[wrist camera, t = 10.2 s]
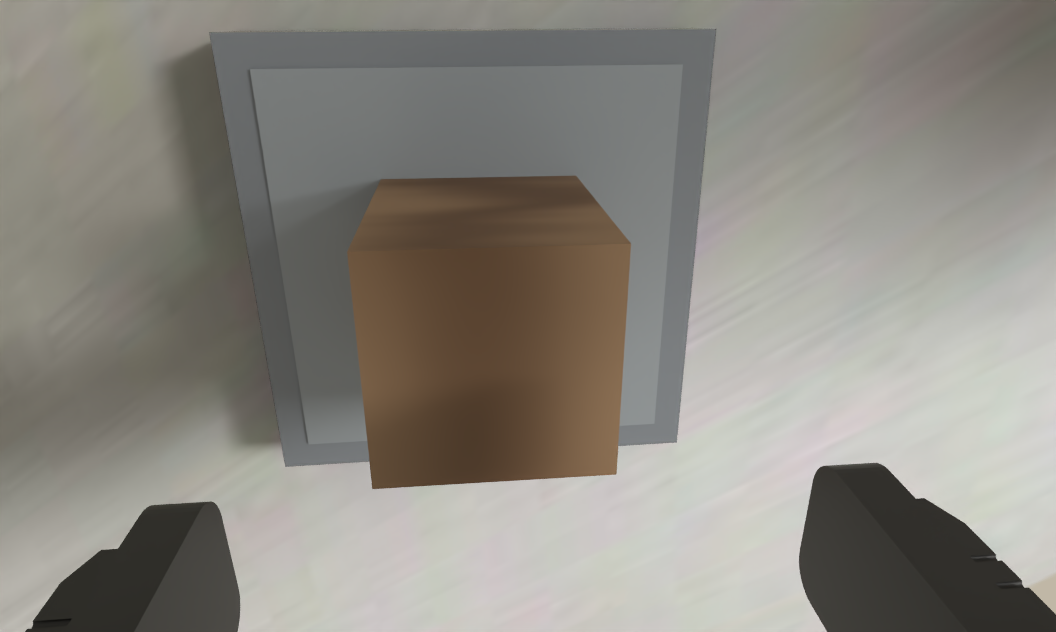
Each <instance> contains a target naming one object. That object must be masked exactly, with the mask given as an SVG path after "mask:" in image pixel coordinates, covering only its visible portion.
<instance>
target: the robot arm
mask: <svg viewBox="0 0 1056 632" xmlns="http://www.w3.org/2000/svg"><path fill="white" fill-rule="evenodd" d="M799 567H800V574H801V579H802V583H803V587H804V590H805V593H806V595H807V597H808V599H809V601H810V603H811V605H812V607H813V608H814V610H815V612H816V613H817V615H818V617H819V618H820V620H821V622H822V624H823V625H824V627H825V629H826V630H827V632H1056V615H1055V613H1054V612H1053V611H1052V610H1051V609H1050V608H1049V607H1048V606H1047V605H1046V604H1045V603H1044V602H1043V601H1042V600H1041V599H1040V598H1039V597H1038V596H1037V595H1036V594H1035V593H1034V592H1033V591H1032V590H1031V589H1030V588H1024V587H1023V585H1022V580H1021V579H1020V578H1019V577H1018V576H1017V575H1016V574H1015V573H1014V572H1013V571H1012V570H1011V569H1010V568H1009V567H1008V566H1007V565H1006V564H1005V563H1004V562H1003V561H997V559H996V554H995V553H994V552H993V551H992V550H991V549H990V548H989V547H988V546H987V545H986V544H985V543H984V542H983V541H982V540H981V539H980V538H979V537H978V536H977V535H976V534H975V533H974V532H973V531H972V530H971V529H970V528H969V527H968V526H967V525H966V524H965V523H963V522H962V521H960V520H959V519H957V518H955V517H954V516H952V515H950V514H949V513H947V512H946V511H944V510H942V509H941V508H939V507H937V506H936V505H934V504H933V503H931V502H929V501H928V500H926V499H924V498H921V499H915V497H914V496H913V495H912V494H911V493H910V492H909V491H908V490H907V489H906V488H905V487H904V486H903V485H902V484H901V483H900V482H899V481H898V479H897V478H896V477H895V476H894V475H893V474H892V473H891V472H890V471H889V470H888V469H887V468H886V467H885V466H883V465H881V464H878V463H865V464H849V465H832V466H822V467H820V468H819V469H818V470H817V472H816V474H815V476H814V479H813V484H812V489H811V494H810V500H809V505H808V510H807V516H806V521H805V526H804V532H803V537H802V542H801V548H800V554H799ZM239 618H240V595H239V589H238V584H237V580H236V576H235V572H234V567H233V563H232V559H231V555H230V550H229V546H228V542H227V538H226V533H225V529H224V525H223V521H222V516H221V513H220V510H219V508H218V506H217V505H216V504H215V503H214V502H197V503H181V504H164V505H152V506H149V507H147V508H146V509H145V510H144V511H143V512H142V514H141V515H140V516H139V518H138V519H137V521H136V522H135V524H134V525H133V527H132V528H131V530H130V532H129V533H128V535H127V536H126V538H125V539H124V541H123V542H122V544H121V545H120V547H119V548H118V549H110V550H101V551H99V552H98V553H97V554H96V555H94V556H93V557H92V558H91V559H90V560H88V561H87V562H86V563H85V564H83V565H82V566H81V567H80V568H78V569H77V570H76V571H75V572H73V573H72V574H71V575H70V576H69V577H67V578H66V579H65V580H64V581H62V582H61V583H60V584H59V586H58V587H57V589H56V590H55V591H54V593H53V594H52V596H51V597H50V598H49V600H48V601H47V602H46V604H45V605H44V607H43V608H42V609H41V611H40V612H39V614H38V615H37V616H36V618H35V619H34V620H33V627H32V629H27V630H26V631H25V632H237V631H238V626H239Z"/></svg>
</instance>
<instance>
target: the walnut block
mask: <svg viewBox="0 0 1056 632" xmlns="http://www.w3.org/2000/svg"><path fill="white" fill-rule="evenodd" d="M630 254H631V243H630V242H629V240H628V239H627V238H626V237H625V236H624V234H623V233H622V232H621V231H620V229H619V228H618V227H617V226H616V224H615V223H614V222H613V221H612V219H611V218H610V217H609V216H608V214H607V213H606V212H605V211H604V209H603V208H602V207H601V206H600V204H599V203H598V202H597V201H596V200H595V198H594V197H593V196H592V195H591V193H590V192H589V191H588V190H587V188H586V187H585V186H584V185H583V183H582V182H581V181H580V180H579V178H578V177H577V176H525V177H471V178H418V179H381V180H380V182H379V184H378V187H377V189H376V191H375V193H374V195H373V197H372V199H371V202H370V204H369V206H368V208H367V210H366V212H365V214H364V217H363V219H362V221H361V223H360V225H359V227H358V229H357V232H356V234H355V236H354V238H353V240H352V242H351V244H350V247H349V249H348V251H347V256H348V265H349V274H350V284H351V293H352V302H353V312H354V321H355V330H356V340H357V349H358V358H359V368H360V377H361V386H362V396H363V405H364V414H365V424H366V433H367V442H368V452H369V461H370V470H371V480H372V489H380V488H397V487H414V486H430V485H447V484H464V483H481V482H497V481H514V480H531V479H547V478H564V477H581V476H597V475H614V474H616V472H617V456H618V441H619V425H620V410H621V394H622V379H623V363H624V347H625V332H626V316H627V301H628V285H629V270H630Z"/></svg>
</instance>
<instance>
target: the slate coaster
mask: <svg viewBox="0 0 1056 632" xmlns="http://www.w3.org/2000/svg"><path fill="white" fill-rule="evenodd" d="M209 33H210V39H211V44H212V50H213V56H214V62H215V67H216V73H217V79H218V84H219V90H220V96H221V102H222V107H223V113H224V119H225V124H226V130H227V136H228V142H229V147H230V153H231V159H232V164H233V170H234V176H235V182H236V187H237V193H238V199H239V204H240V210H241V216H242V222H243V227H244V233H245V239H246V244H247V250H248V256H249V262H250V267H251V273H252V279H253V284H254V290H255V296H256V301H257V307H258V313H259V319H260V324H261V330H262V336H263V341H264V347H265V353H266V359H267V364H268V370H269V376H270V381H271V387H272V393H273V399H274V404H275V410H276V416H277V421H278V427H279V433H280V439H281V444H282V450H283V456H284V461H285V467H289V466H305V465H321V464H337V463H353V462H369V452H368V442H367V433H366V424H365V414H364V405H363V396H362V386H361V377H360V368H359V358H358V349H357V340H356V330H355V321H354V312H353V302H352V293H351V284H350V274H349V265H348V256H347V251H348V249H349V247H350V244H351V242H352V240H353V238H354V236H355V234H356V232H357V229H358V227H359V225H360V223H361V221H362V219H363V217H364V214H365V212H366V210H367V208H368V206H369V204H370V202H371V199H372V197H373V195H374V193H375V191H376V189H377V187H378V184H379V182H380V180H381V179H418V178H471V177H525V176H577V177H578V178H579V180H580V181H581V182H582V183H583V185H584V186H585V187H586V188H587V190H588V191H589V192H590V193H591V195H592V196H593V197H594V198H595V200H596V201H597V202H598V203H599V204H600V206H601V207H602V208H603V209H604V211H605V212H606V213H607V214H608V216H609V217H610V218H611V219H612V221H613V222H614V223H615V224H616V226H617V227H618V228H619V229H620V231H621V232H622V233H623V234H624V236H625V237H626V238H627V239H628V240H629V242H630V243H631V254H630V270H629V285H628V301H627V316H626V332H625V347H624V363H623V379H622V394H621V410H620V425H619V441H618V446H626V445H642V444H658V443H674V442H677V434H678V423H679V413H680V402H681V392H682V381H683V371H684V360H685V350H686V339H687V329H688V318H689V308H690V298H691V287H692V277H693V266H694V256H695V245H696V235H697V224H698V214H699V203H700V193H701V183H702V172H703V162H704V151H705V141H706V130H707V120H708V109H709V99H710V88H711V78H712V67H713V57H714V47H715V36H716V29H693V28H683V29H529V30H376V31H233V32H209Z"/></svg>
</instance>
